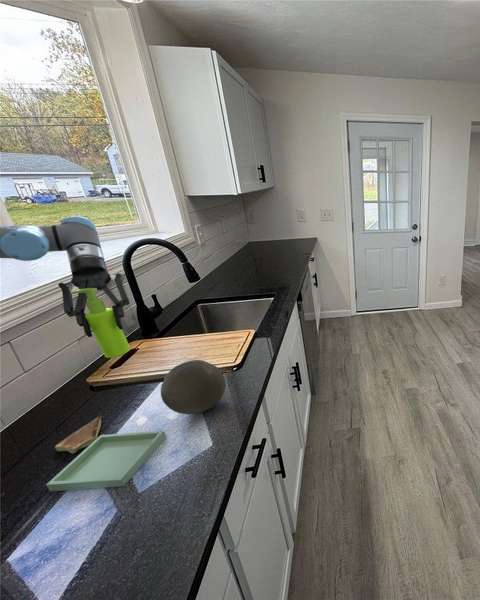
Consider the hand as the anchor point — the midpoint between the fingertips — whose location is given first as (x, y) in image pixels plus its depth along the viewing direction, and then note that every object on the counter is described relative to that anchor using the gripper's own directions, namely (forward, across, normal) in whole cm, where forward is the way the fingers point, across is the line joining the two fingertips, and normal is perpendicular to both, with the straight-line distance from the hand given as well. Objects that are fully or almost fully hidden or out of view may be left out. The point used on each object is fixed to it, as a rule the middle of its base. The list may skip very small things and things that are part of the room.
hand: (104, 330), depth 86 cm
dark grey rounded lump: (+31, +16, +1) cm, 35 cm away
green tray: (+35, -3, -3) cm, 35 cm away
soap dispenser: (+3, 0, +9) cm, 9 cm away
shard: (+25, -11, +8) cm, 28 cm away
